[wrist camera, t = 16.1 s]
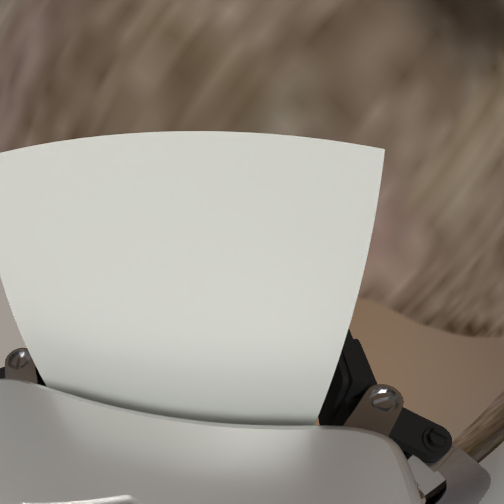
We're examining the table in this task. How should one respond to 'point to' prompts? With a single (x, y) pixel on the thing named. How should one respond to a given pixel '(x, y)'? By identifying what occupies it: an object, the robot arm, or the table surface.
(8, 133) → the table surface
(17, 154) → the white angular block
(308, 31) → the table surface
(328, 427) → the robot arm
